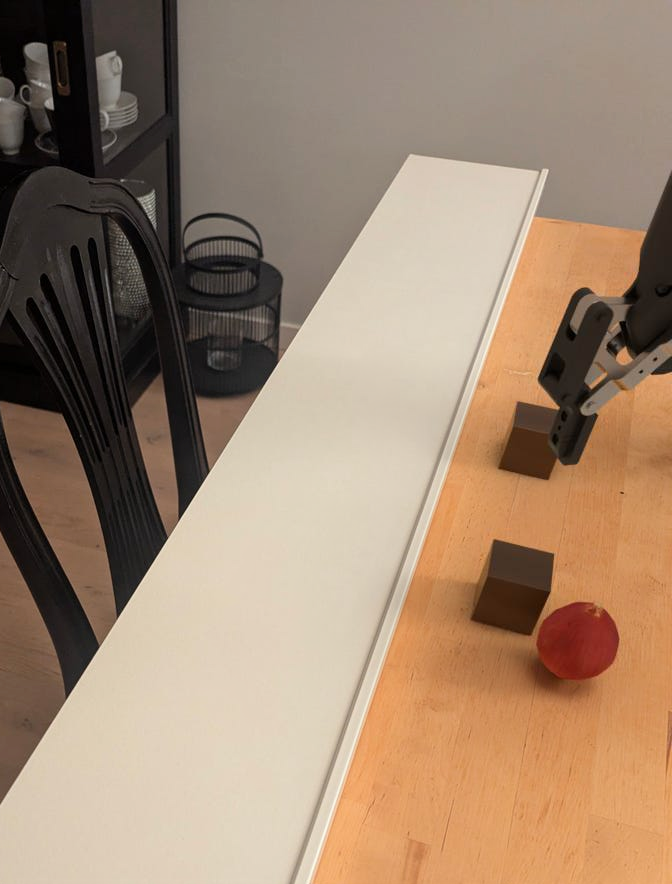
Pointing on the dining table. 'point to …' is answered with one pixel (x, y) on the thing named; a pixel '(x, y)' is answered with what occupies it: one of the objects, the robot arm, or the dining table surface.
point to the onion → (578, 641)
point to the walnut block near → (513, 587)
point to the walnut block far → (529, 441)
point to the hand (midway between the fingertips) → (625, 453)
